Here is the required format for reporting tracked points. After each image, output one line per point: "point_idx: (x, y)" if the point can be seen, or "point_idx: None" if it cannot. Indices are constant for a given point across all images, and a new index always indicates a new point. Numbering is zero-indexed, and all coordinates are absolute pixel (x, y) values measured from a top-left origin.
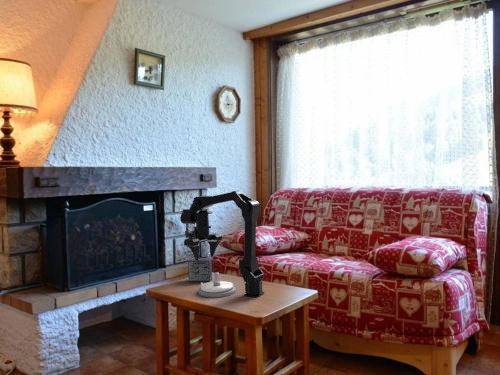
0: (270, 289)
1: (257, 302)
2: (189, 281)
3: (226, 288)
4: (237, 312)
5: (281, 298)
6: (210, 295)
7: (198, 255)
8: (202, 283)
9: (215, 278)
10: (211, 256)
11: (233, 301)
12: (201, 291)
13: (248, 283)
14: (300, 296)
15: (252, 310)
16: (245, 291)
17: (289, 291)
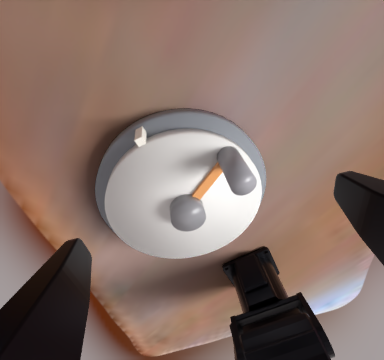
0: (319, 253)
1: (205, 308)
2: None
3: (188, 257)
4: (125, 333)
5: None
6: None
7: (74, 343)
8: (141, 144)
9: (222, 169)
10: (338, 188)
11: (164, 284)
12: (103, 193)
13: (242, 306)
14: None
15: (160, 334)
16: (235, 266)
17: (325, 284)
